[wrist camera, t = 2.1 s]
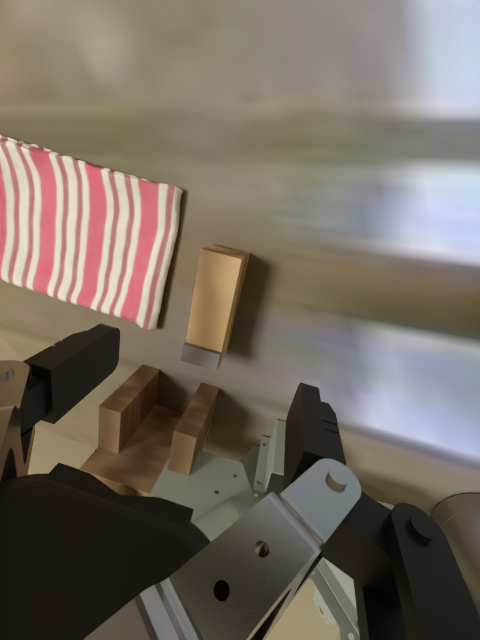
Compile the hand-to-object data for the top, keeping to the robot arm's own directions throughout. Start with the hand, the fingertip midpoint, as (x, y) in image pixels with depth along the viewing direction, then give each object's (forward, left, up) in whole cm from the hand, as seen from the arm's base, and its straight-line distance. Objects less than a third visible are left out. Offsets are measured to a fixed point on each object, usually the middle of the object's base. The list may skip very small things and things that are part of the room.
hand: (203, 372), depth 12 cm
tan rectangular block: (+4, +4, -21) cm, 21 cm away
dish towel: (+22, +1, -21) cm, 30 cm away
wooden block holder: (+7, +20, -20) cm, 29 cm away
